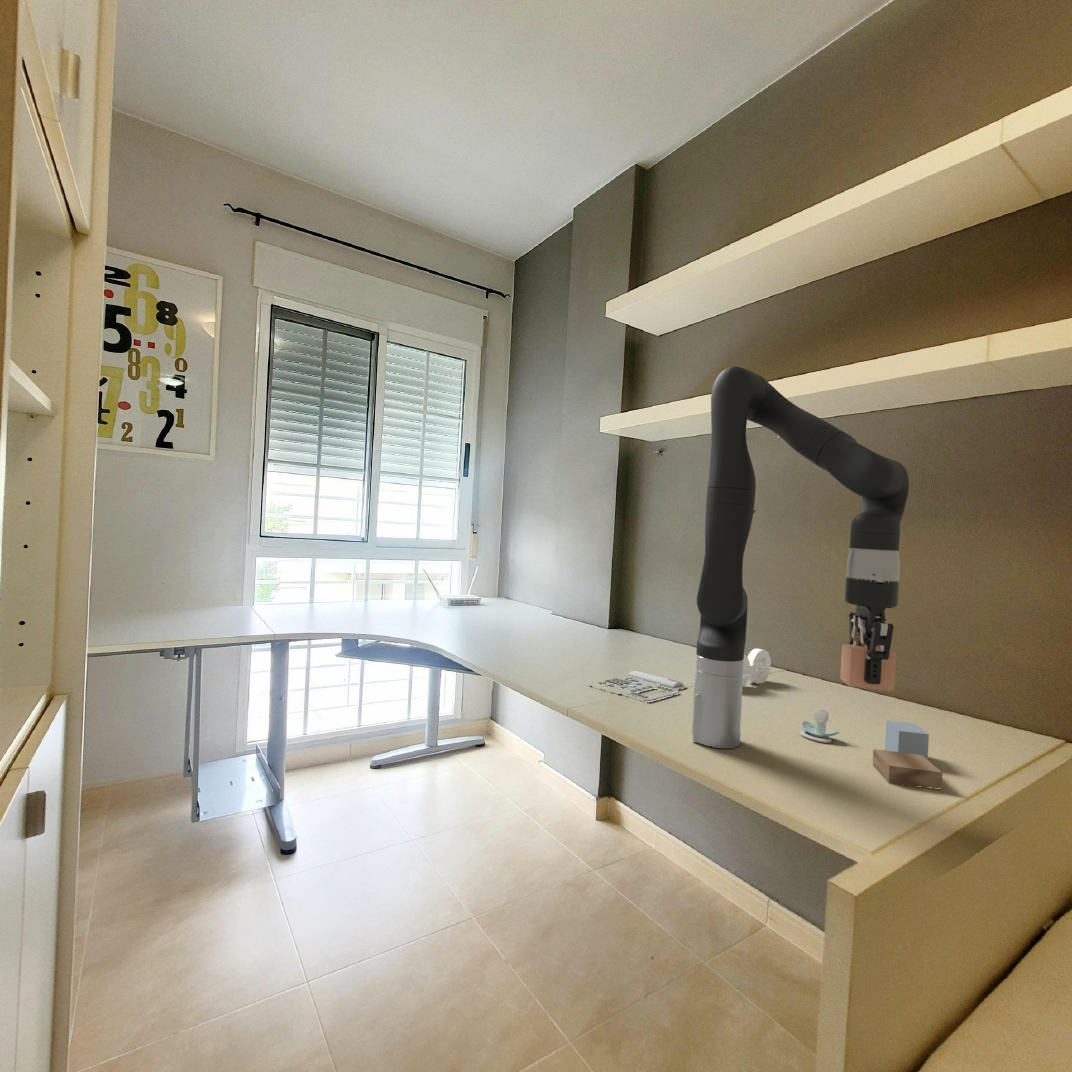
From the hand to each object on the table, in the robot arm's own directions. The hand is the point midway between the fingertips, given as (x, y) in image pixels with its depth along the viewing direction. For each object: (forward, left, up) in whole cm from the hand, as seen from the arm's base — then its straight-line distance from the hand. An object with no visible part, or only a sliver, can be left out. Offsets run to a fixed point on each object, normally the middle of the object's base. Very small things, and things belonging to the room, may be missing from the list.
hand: (866, 678), depth 91 cm
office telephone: (-39, +51, -20) cm, 67 cm away
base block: (+10, +10, -19) cm, 24 cm away
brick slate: (+14, +21, -19) cm, 32 cm away
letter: (-10, +66, -19) cm, 70 cm away
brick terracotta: (0, 0, -1) cm, 1 cm away
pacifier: (-1, +26, -19) cm, 33 cm away
